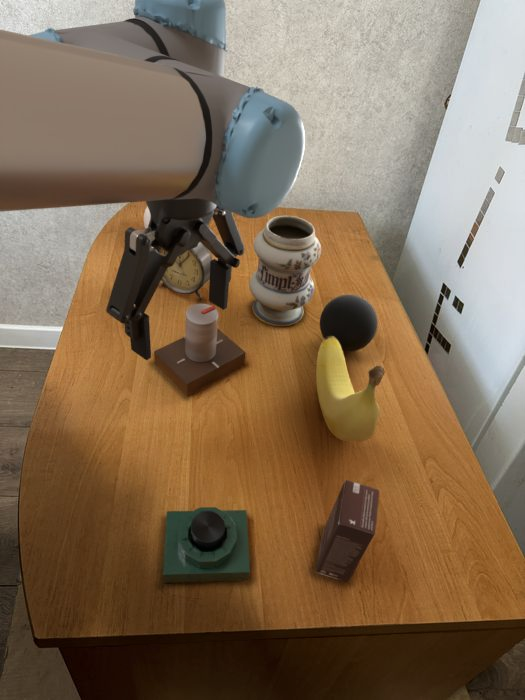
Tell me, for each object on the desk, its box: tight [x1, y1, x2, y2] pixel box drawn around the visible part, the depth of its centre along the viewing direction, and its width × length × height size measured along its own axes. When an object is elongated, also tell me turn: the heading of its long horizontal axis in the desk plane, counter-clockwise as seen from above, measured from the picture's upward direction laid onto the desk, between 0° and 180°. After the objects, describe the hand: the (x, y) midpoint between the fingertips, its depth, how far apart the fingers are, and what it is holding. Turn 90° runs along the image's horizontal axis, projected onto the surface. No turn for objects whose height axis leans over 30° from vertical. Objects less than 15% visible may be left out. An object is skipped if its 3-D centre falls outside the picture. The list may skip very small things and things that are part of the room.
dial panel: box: [153, 328, 247, 397], centre depth 87 cm, size 12×9×3 cm
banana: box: [315, 336, 386, 443], centre depth 77 cm, size 23×6×20 cm, turn 4°
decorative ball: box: [319, 294, 379, 353], centre depth 93 cm, size 10×10×10 cm
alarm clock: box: [157, 242, 213, 301], centre depth 97 cm, size 11×5×16 cm, turn 65°
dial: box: [184, 303, 219, 362], centre depth 84 cm, size 5×5×8 cm
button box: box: [162, 506, 251, 584], centre depth 64 cm, size 10×8×4 cm
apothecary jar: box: [248, 215, 322, 327], centre depth 95 cm, size 12×12×18 cm
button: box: [191, 511, 225, 551], centre depth 62 cm, size 4×4×2 cm
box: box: [315, 479, 380, 583], centre depth 62 cm, size 6×4×12 cm
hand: (181, 327), depth 68 cm, fingers open, 13 cm apart
